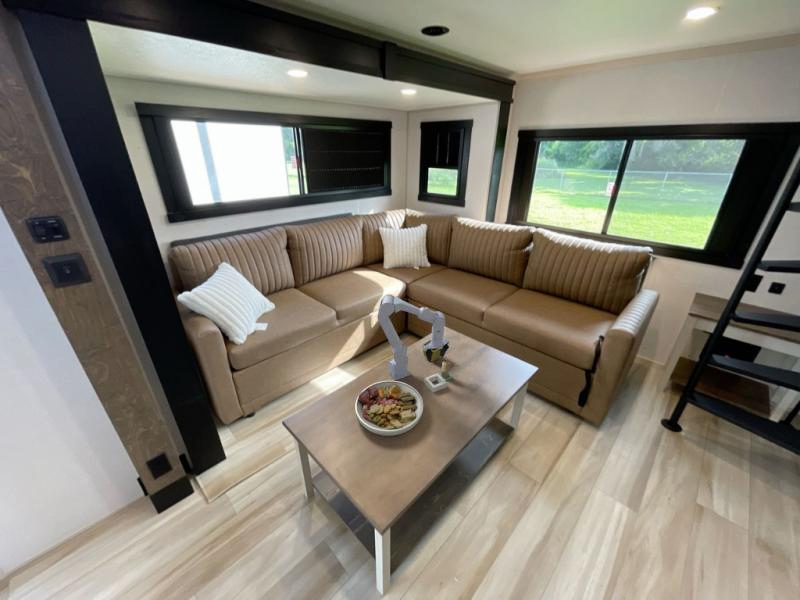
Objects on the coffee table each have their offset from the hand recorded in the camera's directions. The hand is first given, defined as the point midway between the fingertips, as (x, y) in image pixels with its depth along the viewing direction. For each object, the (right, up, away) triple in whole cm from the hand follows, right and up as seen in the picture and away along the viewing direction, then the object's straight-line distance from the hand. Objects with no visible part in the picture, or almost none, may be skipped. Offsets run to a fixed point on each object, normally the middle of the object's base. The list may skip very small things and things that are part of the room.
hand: (435, 358), depth 156 cm
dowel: (+5, -10, +3) cm, 11 cm away
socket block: (0, -13, -3) cm, 13 cm away
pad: (+5, -10, +3) cm, 12 cm away
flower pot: (0, -3, +17) cm, 17 cm away
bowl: (-23, -21, -18) cm, 36 cm away
